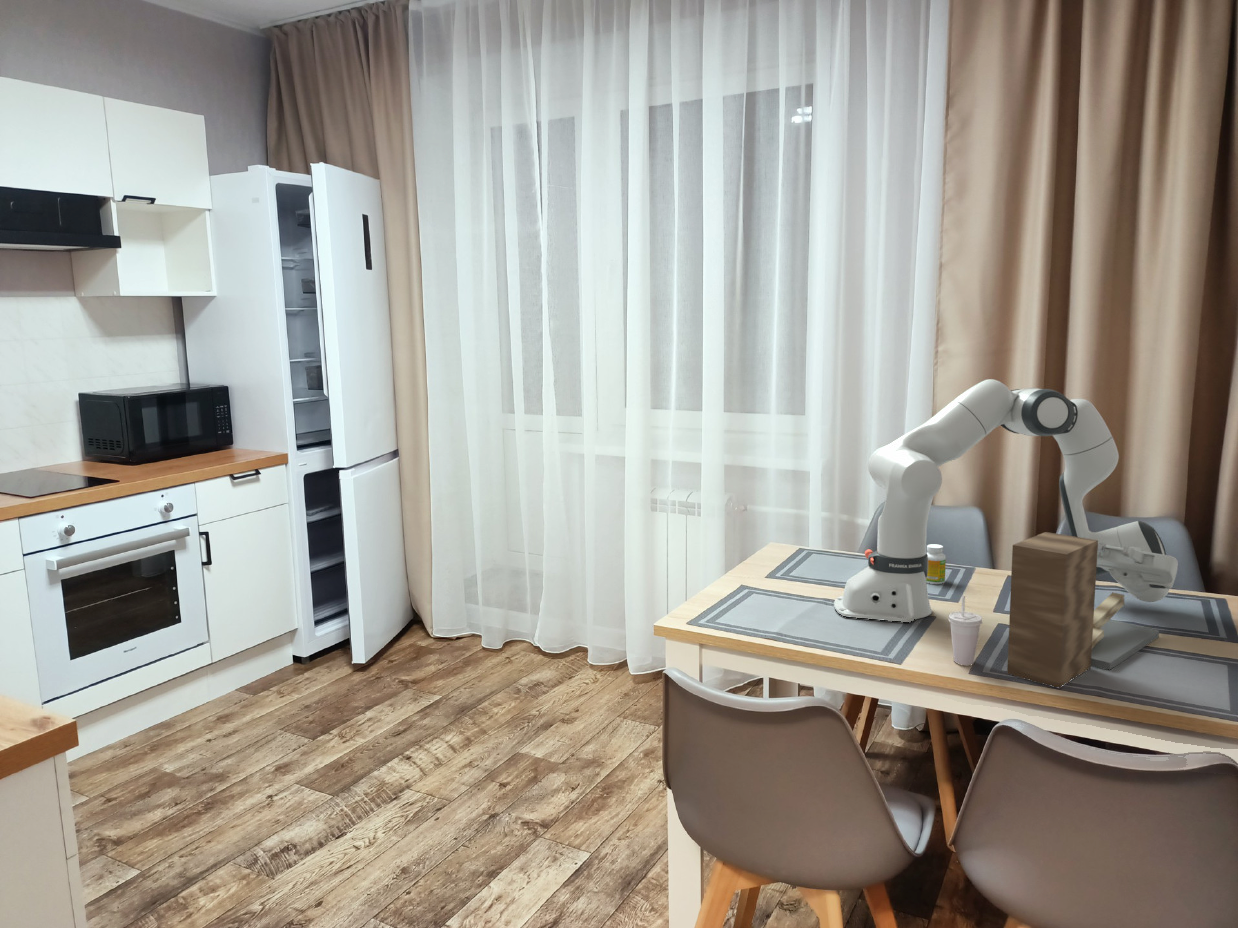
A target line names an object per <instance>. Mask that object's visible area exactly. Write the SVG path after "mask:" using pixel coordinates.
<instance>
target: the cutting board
mask: <svg viewBox="0 0 1238 928" xmlns="http://www.w3.org/2000/svg"><path fill="white" fill-rule="evenodd" d="M1101 630H1104V637H1103V638H1102V639H1101V640H1100V641H1099V642H1098V643H1097V644H1096V645H1095V646H1094V647H1093V648H1092V653H1091V665H1093V666H1092V667H1096V668H1099V667H1100V668H1099V669H1104V670H1107V669H1109V670H1108V671H1111V670H1112V669H1114V668H1115V667H1116V666H1119V664H1121V663H1122V662H1124V661H1126V660H1127V659H1129V658H1130V657H1132V656H1134V654H1135V653H1137V652H1139V651H1140V650H1142V649H1143V648H1144V647H1146V646H1148V645H1149V644H1150V643H1152V642H1153V641H1155V640H1156V639H1158V638H1159V637H1160V630H1159V629H1156V628H1150V627H1146V626H1144V625H1143V626H1141V625H1137V624H1133V623H1127V622H1124V621H1120V620H1115V619H1112V618H1111V619H1110V620H1109V621H1108V622H1107V623H1106V624H1105V625H1104V626H1103V627H1102V628H1101ZM1113 667H1114V668H1113ZM1110 669H1111V670H1110Z"/></svg>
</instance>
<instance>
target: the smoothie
mask: <svg viewBox="0 0 1238 928" xmlns="http://www.w3.org/2000/svg"><path fill="white" fill-rule="evenodd" d="M965 600H966V595H962V596H961V611H953V612H951V613H950V614H948V621H949V623H950V631H951V632H950V633H951V643H952V644H951V645H952V652H953V653H952V654H953V662H954V661H955V662H956V663H959V664H962V665H961V666H963V665H970V666H972V665H971V664H973V663H975V658H976V651H977V646H978V641H979V634H980V629H981V625H982V624H983V617H982V616H981V615H979V614H977V613H974V612H968V611H965V609H966V607H965V606H966V605H965V603H966V601H965ZM955 662H954V663H955ZM956 663H955V664H956ZM973 665H974V664H973Z"/></svg>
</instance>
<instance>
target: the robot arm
mask: <svg viewBox="0 0 1238 928" xmlns="http://www.w3.org/2000/svg"><path fill="white" fill-rule="evenodd" d="M1000 426H1001V427H1002V428H1004V430H1006V431H1008V432H1009V433H1013V434H1018V435H1019V434H1020V435H1024V436H1028V437H1040V436H1041V437H1051V436H1052V437H1053V439H1054V440H1055V441H1056V442H1057V445H1058V447H1059V449H1060V452H1061V454H1062V456H1063V459H1064V472H1063V473H1062V474H1061V475H1060V476H1059V482H1058V486H1059V494H1060V498H1061V501H1062V502H1061V504H1062V506H1063V511H1064V514H1065V515H1064V516H1065V519H1066V523H1067V527H1068V532H1069V536H1074V537H1080V538H1087V539H1093V540H1098V551H1097V568H1096V578H1097V577H1100V576H1103V575H1106V574H1110V576H1111V577H1112V578H1113V579H1114V580H1115V581H1116V583H1118V584H1119V585H1120V586H1121V587H1122V588H1124V590H1125V591H1126V592H1128V593H1129V594H1130V595H1131V596H1132V597H1134V598H1136V599H1137V600H1139V601H1142V602H1145V603H1156V602H1158V601H1161V600H1163V599H1164V598H1165V597H1166V596H1167V595H1168V593H1169V591H1170V589H1172V588H1173V586H1174V583H1175V580H1176V577H1177V573H1178V566H1179V562H1178V559H1177V558H1176V557H1174V556H1172V555H1169V554H1168V555H1167V551H1166V547H1165V545H1164V543H1163V541H1162V538H1161V537H1160V535H1159V534H1158V532H1157V531H1156V529H1154V527H1153V526H1151V525H1150V524H1149V523H1146V522H1145V521H1141V520H1137V521H1132V522H1129V523H1124V524H1122V525H1118V526H1116V527H1111V528H1108V529H1104V530H1100V531H1096V532H1095V531H1094V532H1093V531H1091V530H1090V529H1089V526H1088V521H1087V517H1086V516H1087V515H1086V513H1085V509H1084V506H1083V501H1084V500H1083V499H1084V497H1085V496H1086V495H1087V494H1088V493H1089V492H1090V491H1091V490H1093V489H1094V488H1095V487H1096V486H1098V485H1100V484H1101V483H1103V482H1104V481H1105V480H1106V479H1107V478H1109V476H1110V475H1111V474H1112V473H1113V472H1114V470H1115V469H1116V468H1117V465H1118V463H1119V458H1120V455H1119V451H1118V447H1117V445H1116V442H1115V439H1114V437H1113V435H1112V433H1111V431H1110V429H1109V427H1108V426H1107V424H1106V422H1105V420H1104V418H1103V417H1102V415H1101V414H1100V412H1099V411H1098V410H1097V408H1096V407H1095V406H1094V404H1093V403H1092V402H1091V401H1089V400H1087V399H1085V398H1072V399H1069V398H1068V397H1066V396H1065V395H1064V394H1063V393H1061V392H1059V391H1057V390H1054V389H1051V388H1039V387H1038V388H1037V387H1028V388H1016V389H1011V390H1010V388H1009V387H1008V386H1007V385H1005V384H1004V383H1003V382H1001V381H1000V380H996V379H993V378H991V379H990V378H989V379H984V380H982V381H980V382H979V383H976V384H974V385H973V386H972V387H970V388H968V389H967V390H965V391H964V392H962V393H961V394H959V395H958V396H957V397H956V398H954V399H953V400H952V401H950V402H949V403H948V404H947V405H946V406H944V407H943V408H942V409H941V410H940V411H938V412H936V414H935V415H933V416H932V417H931V418H929V419H928V420H927V421H925V422H924V423H922V424H921V425H919V426H918V427H915V428H914V429H913V430H911V431H909V432H907V433H906V434H904V435H902V436H900V437H899V438H897V439H895V440H894V441H892V442H891V443H888V444H887V445H884V446H881V447H879V448H877V449H875V450H874V452H872V454H871V455H870V457H869V459H868V465H867V467H868V472H869V474H870V476H871V478H872V480H873V481H874V482H875V484H877V486H878V487H881V488H882V489H883V490H885V494H886V495H885V501H884V506H883V509H882V512H881V514H880V516H879V517H878V520H877V539H876V541H877V544H876V545H877V546H876V548H877V549H876V550H875V551H873V550H872V549H866V550H865V551H864V556H865V559H867V563H868V564H867V565H868V566H866V567H865V568H862V570H860V571H859V572H858V573H855V575H853V576H851V577H849V579H847V581H846V583H845V586H844V588H843V589H844V590H843V595H840V596H837V598H835V600H834V601H833V608H834V607H835V609H836V610H837V611H838V612H839V613H840V614H842V615H843V616H851V617H856V618H855V619H857V618H868V619H867V620H869V619H871V618H872V619H884V620H888V621H887V622H892V621H901V622H900V623H903V622H909V623H911V621H912V622H913V621H915V620H918V619H921V618H922V619H923V618H925V617H928V616H930V615H931V614H932V612H933V611H932V607H931V603H930V598H929V593H928V586H927V585H928V583H926V577H927V573H928V555H927V553H928V552H927V533H928V532H927V531H928V527H927V526H928V521H929V516H930V515H929V514H930V512H931V507H932V503H933V501H934V497H935V496H936V495H937V494H938V492H939V491H940V489H941V487H942V483H943V475H942V472H941V470H940V466H942V465H944V464H946V463H948V462H952V461H955V460H957V459H960V458H961V457H962V456H964V455H965V454H966V453H967V452H968V451H969V450H971V449H972V448H973V447H974V446H976V445H977V444H978V443H979V442H980V441H982V440H983V439H985V438H986V436H988V435H989V434H990V433H992V431H993V430H994V429H996V428H998V427H1000ZM835 609H834V610H835ZM843 616H842V617H843ZM914 619H915V620H914ZM890 620H892V621H890Z"/></svg>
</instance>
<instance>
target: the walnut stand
mask: <svg viewBox="0 0 1238 928" xmlns="http://www.w3.org/2000/svg"><path fill="white" fill-rule="evenodd" d="M1097 551H1098V540H1093V539H1087V538H1080V537H1074V536H1070V535H1067V534H1062V533H1053V532H1050V531H1049V532H1048V531H1045V532H1044V531H1043V532H1042V533H1039V534H1037V535H1034V536H1032V537H1029V538H1026V539H1024V540H1022V541H1021V540H1020V541H1019V542H1016V543H1015V544H1014V543H1013V544H1012V550H1011V572H1010V573H1011V575H1010V596H1009V597H1010V598H1009V600H1010V602H1009V622H1008V646H1007V647H1008V648H1007V667H1006V668H1007V670H1006V674H1007V675H1010V674H1012V675H1011V676H1013V675H1014V676H1013V677H1016V676H1018V677H1017V678H1020V677H1021V679H1023V678H1025V680H1027V679H1030V680H1032V681H1031V682H1034V681H1036V682H1035V683H1037V682H1039V683H1038V684H1041V683H1044V684H1047V685H1046V686H1048V685H1052V686H1054V687H1053V688H1055V687H1059V688H1060V687H1061V686H1062V685H1064V684H1065V683H1067V682H1069V681H1070V680H1071V679H1073V678H1075V677H1076V676H1078V675H1079V674H1081V673H1083V672H1084V673H1086V672H1087V671H1089V670H1090V669H1091V667H1092V666H1091V653H1092V636H1093V619H1094V610H1095V601H1096V600H1095V599H1096V598H1095V597H1096V582H1097V581H1096V580H1097V577H1096V568H1097ZM1088 669H1089V670H1088ZM1086 670H1087V671H1086ZM1085 671H1086V672H1085ZM1084 673H1083V674H1084ZM1081 675H1082V674H1081ZM1078 677H1079V676H1078ZM1076 678H1077V677H1076ZM1076 678H1075V679H1076ZM1030 680H1029V681H1030ZM1073 680H1074V679H1073ZM1070 682H1071V681H1070ZM1070 682H1069V683H1070ZM1044 684H1043V685H1044ZM1067 684H1068V683H1067ZM1064 686H1065V685H1064ZM1061 688H1062V687H1061ZM1061 688H1060V689H1061Z"/></svg>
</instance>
